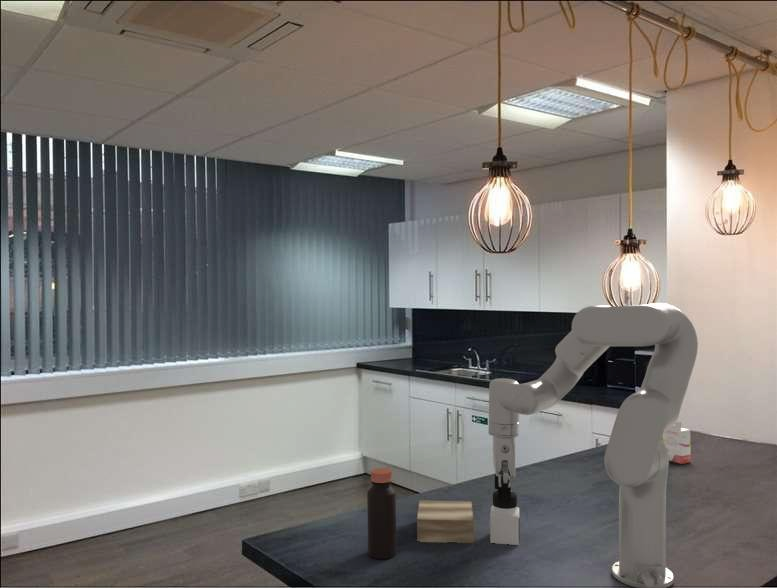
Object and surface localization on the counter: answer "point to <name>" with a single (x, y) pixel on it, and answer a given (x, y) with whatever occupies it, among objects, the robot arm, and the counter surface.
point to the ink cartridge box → (678, 444)
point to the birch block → (445, 521)
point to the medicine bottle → (505, 521)
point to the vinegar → (381, 515)
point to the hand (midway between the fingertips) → (502, 495)
